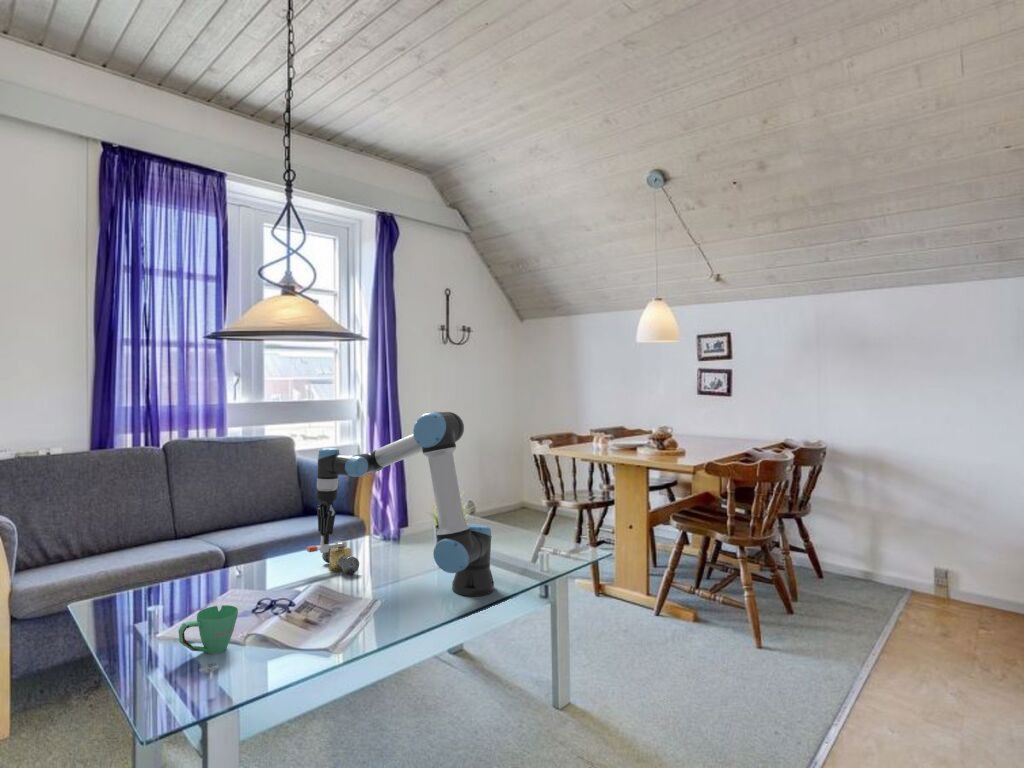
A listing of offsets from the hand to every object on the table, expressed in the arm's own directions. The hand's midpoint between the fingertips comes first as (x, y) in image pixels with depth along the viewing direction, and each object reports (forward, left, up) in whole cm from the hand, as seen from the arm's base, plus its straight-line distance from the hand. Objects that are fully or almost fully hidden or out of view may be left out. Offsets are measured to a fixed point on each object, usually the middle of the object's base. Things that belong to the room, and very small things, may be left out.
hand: (324, 552), depth 216 cm
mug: (-44, +50, -9) cm, 67 cm away
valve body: (+4, -8, -9) cm, 13 cm away
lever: (+4, -3, 0) cm, 5 cm away
